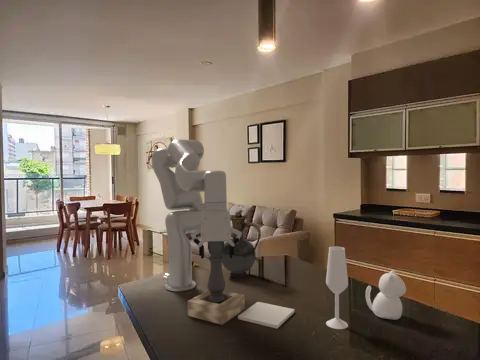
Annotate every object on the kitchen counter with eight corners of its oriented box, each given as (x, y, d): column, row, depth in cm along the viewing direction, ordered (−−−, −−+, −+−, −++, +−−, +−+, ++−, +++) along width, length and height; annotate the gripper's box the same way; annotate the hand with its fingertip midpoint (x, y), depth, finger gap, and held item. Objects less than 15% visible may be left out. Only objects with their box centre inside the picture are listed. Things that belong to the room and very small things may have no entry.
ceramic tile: (237, 319, 114) (237, 316, 114) (257, 304, 126) (257, 301, 126) (277, 328, 107) (277, 325, 106) (294, 312, 119) (294, 309, 119)
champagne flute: (323, 319, 113) (323, 245, 112) (344, 319, 112) (344, 245, 112) (328, 329, 106) (328, 250, 105) (350, 329, 106) (350, 250, 105)
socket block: (187, 315, 117) (187, 300, 117) (211, 301, 129) (211, 288, 129) (222, 324, 110) (222, 309, 109) (244, 309, 122) (244, 294, 121)
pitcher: (229, 270, 168) (228, 208, 167) (265, 275, 160) (265, 209, 159) (217, 276, 159) (216, 210, 158) (255, 282, 150) (255, 212, 149)
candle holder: (223, 316, 115) (222, 241, 115) (205, 315, 117) (204, 241, 116) (227, 309, 122) (226, 238, 121) (210, 308, 123) (209, 237, 122)
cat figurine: (403, 325, 108) (404, 277, 107) (361, 316, 115) (362, 271, 114) (407, 315, 116) (408, 270, 115) (367, 306, 122) (368, 264, 122)
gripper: (188, 208, 114) (189, 260, 114) (241, 207, 114) (242, 259, 114) (191, 206, 122) (193, 255, 122) (241, 205, 121) (242, 254, 122)
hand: (216, 257), depth 118 cm, fingers open, 9 cm apart
